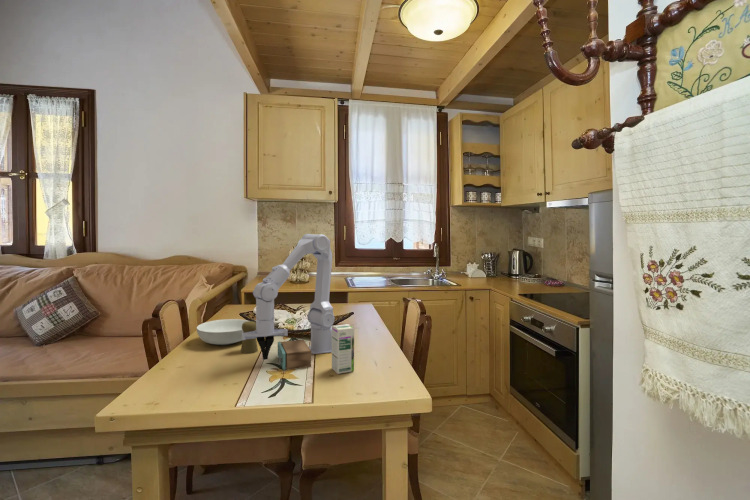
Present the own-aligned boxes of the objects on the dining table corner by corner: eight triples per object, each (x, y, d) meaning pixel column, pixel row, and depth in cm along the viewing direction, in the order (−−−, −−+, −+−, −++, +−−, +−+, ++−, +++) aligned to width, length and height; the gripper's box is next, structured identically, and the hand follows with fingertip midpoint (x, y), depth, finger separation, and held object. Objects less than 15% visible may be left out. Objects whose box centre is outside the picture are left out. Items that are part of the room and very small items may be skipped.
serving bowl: (259, 344, 142) (259, 327, 141) (201, 354, 130) (201, 335, 130) (245, 331, 159) (245, 316, 158) (193, 338, 147) (192, 322, 147)
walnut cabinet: (303, 354, 131) (303, 339, 131) (311, 366, 120) (311, 350, 119) (280, 356, 128) (280, 341, 128) (286, 369, 117) (286, 353, 116)
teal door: (280, 355, 129) (280, 341, 128) (286, 369, 116) (286, 353, 116) (274, 356, 128) (274, 341, 128) (279, 370, 115) (279, 354, 115)
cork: (252, 354, 130) (252, 324, 130) (237, 353, 131) (237, 323, 131) (260, 349, 136) (260, 320, 135) (246, 347, 137) (246, 319, 137)
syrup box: (337, 374, 114) (338, 329, 113) (331, 368, 119) (331, 324, 118) (354, 371, 116) (354, 327, 115) (347, 365, 121) (347, 323, 121)
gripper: (285, 314, 126) (285, 352, 127) (241, 317, 121) (241, 357, 121) (288, 319, 120) (288, 358, 121) (242, 322, 114) (242, 364, 115)
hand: (265, 358), depth 120 cm, fingers closed
